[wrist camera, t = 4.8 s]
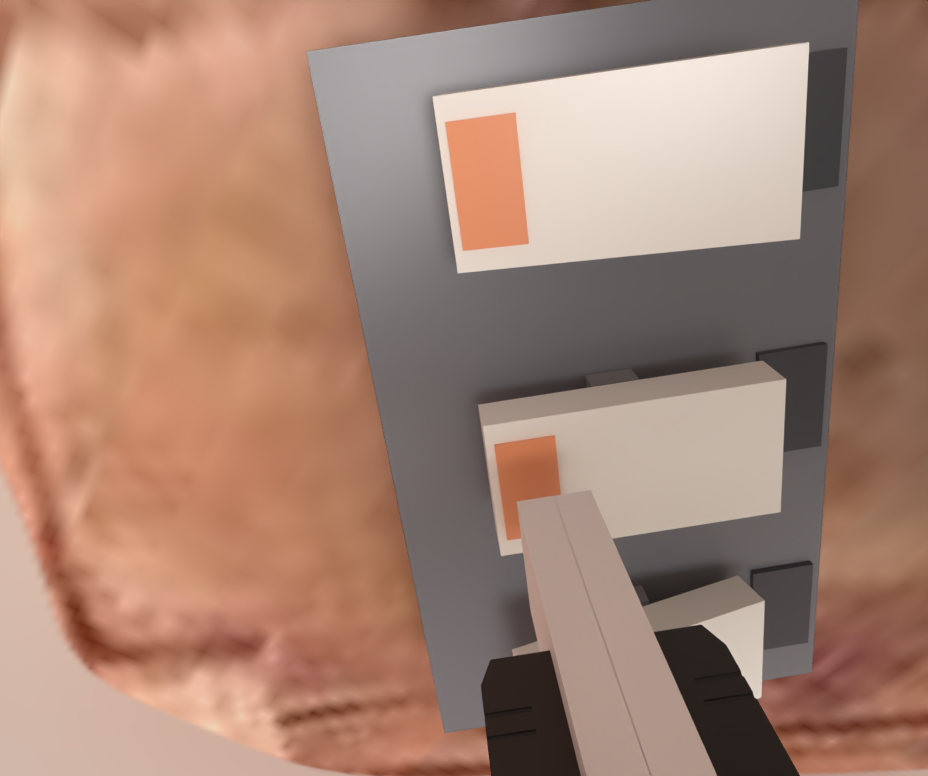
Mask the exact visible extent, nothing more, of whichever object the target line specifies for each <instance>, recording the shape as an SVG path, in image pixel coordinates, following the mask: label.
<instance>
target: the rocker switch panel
mask: <svg viewBox="0 0 928 776" xmlns="http://www.w3.org/2000/svg"><path fill="white" fill-rule="evenodd" d="M858 7H859V0H651V1H644V2H637V3H631V4H624V5H617V6H610V7H604V8H597V9H590V10H583V11H577V12H570V13H563V14H556V15H550V16H543V17H536V18H529V19H523V20H516V21H509V22H503V23H496V24H489V25H482V26H476V27H469V28H462V29H455V30H449V31H442V32H435V33H428V34H422V35H415V36H408V37H401V38H395V39H388V40H381V41H374V42H368V43H361V44H354V45H348V46H341V47H334V48H327V49H321V50H314V51H307V52H306V53H307V58H308V63H309V68H310V73H311V78H312V83H313V88H314V93H315V98H316V102H317V107H318V112H319V117H320V122H321V127H322V132H323V137H324V142H325V147H326V152H327V157H328V162H329V167H330V171H331V176H332V181H333V186H334V191H335V196H336V201H337V206H338V211H339V216H340V221H341V226H342V231H343V236H344V240H345V245H346V250H347V255H348V260H349V265H350V270H351V275H352V280H353V285H354V290H355V295H356V300H357V304H358V309H359V314H360V319H361V324H362V329H363V334H364V339H365V344H366V349H367V354H368V359H369V364H370V369H371V373H372V378H373V383H374V388H375V393H376V398H377V403H378V408H379V413H380V418H381V423H382V428H383V433H384V438H385V442H386V447H387V452H388V457H389V462H390V467H391V472H392V477H393V482H394V487H395V492H396V497H397V502H398V507H399V511H400V516H401V521H402V526H403V531H404V536H405V541H406V546H407V551H408V556H409V561H410V566H411V571H412V575H413V580H414V585H415V590H416V595H417V600H418V605H419V610H420V615H421V620H422V625H423V630H424V635H425V640H426V644H427V649H428V654H429V659H430V664H431V669H432V674H433V679H434V684H435V689H436V694H437V699H438V704H439V709H440V713H441V718H442V723H443V728H444V733H449V732H455V731H461V730H467V729H473V728H479V727H485V717H484V710H483V701H482V693H481V684H482V681H483V678H484V675H485V673H486V670H487V667H488V665H489V662H490V660H491V659H498V658H504V657H510V656H513V653H512V649H515V648H518V647H521V646H524V645H527V644H530V643H533V642H536V641H537V636H536V632H535V628H534V623H533V619H532V615H531V610H530V603H529V595H528V587H527V579H526V571H525V564H524V556H523V553H518V554H512V555H505V556H501V553H500V548H499V543H498V538H497V533H496V527H495V520H494V513H493V506H492V499H491V492H490V485H489V478H488V471H487V464H486V457H485V450H484V443H483V436H482V429H481V422H480V415H479V408H478V405H479V404H486V403H492V402H498V401H505V400H511V399H518V398H524V397H531V396H537V395H544V394H550V393H557V392H563V391H569V390H576V389H582V388H589V387H595V386H602V385H608V384H615V383H621V382H628V381H634V380H640V379H647V378H653V377H660V376H666V375H673V374H679V373H686V372H692V371H699V370H705V369H711V368H718V367H724V366H731V365H737V364H744V363H750V362H757V361H764V362H765V363H766V364H768V365H769V366H770V367H771V368H773V369H774V370H775V371H777V372H778V373H779V374H780V375H782V376H783V377H784V378H785V379H786V398H785V421H784V444H783V468H782V491H781V512H778V513H772V514H766V515H759V516H753V517H747V518H740V519H734V520H728V521H721V522H715V523H708V524H702V525H696V526H689V527H683V528H677V529H670V530H664V531H658V532H651V533H645V534H639V535H632V536H626V537H620V538H613V542H614V544H615V546H616V548H617V551H618V553H619V555H620V557H621V560H622V562H623V564H624V566H625V569H626V571H627V573H628V575H629V578H630V580H631V582H632V585H633V587H634V589H635V591H636V594H637V596H638V598H639V600H640V603H641V605H642V607H643V606H646V605H649V604H652V603H655V602H658V601H661V600H664V599H667V598H671V597H674V596H677V595H680V594H683V593H686V592H689V591H692V590H695V589H698V588H701V587H704V586H707V585H710V584H713V583H716V582H719V581H722V580H725V579H728V578H731V577H734V576H739V577H740V578H741V579H742V580H743V581H744V582H745V583H747V584H748V585H749V586H750V587H751V588H752V589H753V590H754V591H755V592H756V593H757V594H758V595H759V596H760V597H762V598H763V599H764V600H765V608H764V637H763V666H762V681H763V680H769V679H775V678H781V677H787V676H793V675H800V674H806V673H812V660H813V646H814V632H815V618H816V603H817V589H818V575H819V561H820V547H821V532H822V518H823V504H824V490H825V476H826V461H827V447H828V433H829V419H830V405H831V390H832V376H833V362H834V348H835V334H836V319H837V305H838V291H839V277H840V263H841V248H842V234H843V220H844V206H845V192H846V177H847V163H848V149H849V135H850V121H851V106H852V92H853V78H854V64H855V50H856V35H857V21H858ZM805 42H809V60H808V81H807V102H806V123H805V145H804V166H803V187H802V208H801V229H800V239H795V240H785V241H775V242H765V243H755V244H745V245H735V246H725V247H715V248H705V249H696V250H686V251H676V252H666V253H656V254H646V255H636V256H626V257H616V258H606V259H596V260H586V261H576V262H566V263H556V264H546V265H536V266H526V267H516V268H506V269H496V270H486V271H476V272H466V273H458V272H457V265H456V258H455V251H454V244H453V237H452V230H451V223H450V216H449V209H448V202H447V195H446V188H445V181H444V174H443V167H442V160H441V153H440V146H439V139H438V132H437V125H436V118H435V111H434V104H433V96H436V95H439V94H443V93H450V92H457V91H464V90H471V89H478V88H485V87H492V86H499V85H506V84H513V83H519V82H526V81H533V80H540V79H547V78H554V77H561V76H568V75H575V74H582V73H589V72H596V71H602V70H609V69H616V68H623V67H630V66H637V65H644V64H651V63H658V62H665V61H672V60H679V59H685V58H692V57H699V56H706V55H713V54H720V53H727V52H734V51H741V50H748V49H755V48H762V47H768V46H775V45H782V44H789V43H805Z"/></svg>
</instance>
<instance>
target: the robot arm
mask: <svg viewBox="0 0 928 776" xmlns="http://www.w3.org/2000/svg"><path fill="white" fill-rule="evenodd" d="M517 508H518V516H519V524H520V532H521V540H522V548H523V556H524V564H525V571H526V579H527V587H528V595H529V603H530V610H531V615H532V619H533V623H534V628H535V632H536V636H537V641H538V645H539V650H540V652H536V653H529V654H523V655H517V656H510V657H504V658H498V659H491V660H490V662H489V665H488V667H487V670H486V673H485V675H484V678H483V681H482V684H481V693H482V701H483V710H484V717H485V726H486V735H487V742H488V752H489V760H490V769H491V776H800V775H799V773H798V772H797V770H796V768H795V766H794V764H793V763H792V761H791V759H790V757H789V755H788V754H787V752H786V750H785V748H784V747H783V745H782V743H781V741H780V739H779V738H778V736H777V734H776V732H775V731H774V729H773V727H772V725H771V723H770V722H769V720H768V718H767V716H766V715H765V713H764V711H763V709H762V707H761V706H760V704H759V702H758V700H757V699H756V698H754V695H753V691H752V690H751V688H750V686H749V684H748V682H747V681H746V679H745V677H744V676H742V674H741V670H740V668H739V666H738V665H737V663H736V661H735V659H734V658H733V656H732V654H731V652H730V650H729V649H728V647H727V645H726V644H725V643H723V642H722V641H721V640H720V639H719V638H717V637H716V636H715V635H714V634H712V633H711V632H710V631H709V630H708V629H706V628H705V627H704V626H703V625H695V626H688V627H682V628H676V629H669V630H663V631H657V632H653V630H652V627H651V625H650V623H649V621H648V618H647V616H646V614H645V612H644V609H643V607H642V605H641V603H640V600H639V598H638V596H637V594H636V591H635V589H634V587H633V585H632V582H631V580H630V578H629V575H628V573H627V571H626V569H625V566H624V564H623V562H622V560H621V557H620V555H619V553H618V551H617V548H616V546H615V544H614V542H613V539H612V537H611V535H610V533H609V530H608V528H607V526H606V524H605V521H604V519H603V517H602V514H601V512H600V510H599V508H598V505H597V503H596V501H595V499H594V496H593V494H592V492H591V490H587V491H581V492H574V493H568V494H562V495H555V496H549V497H542V498H536V499H529V500H523V501H517Z"/></svg>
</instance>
